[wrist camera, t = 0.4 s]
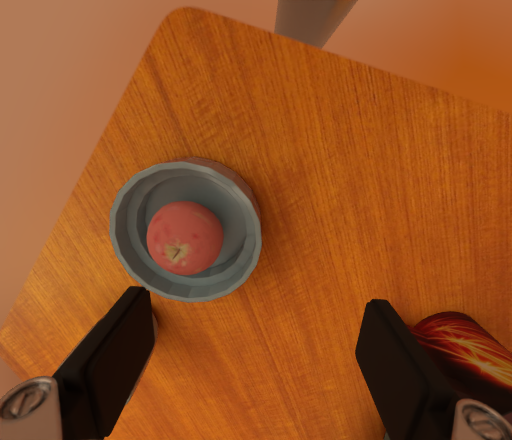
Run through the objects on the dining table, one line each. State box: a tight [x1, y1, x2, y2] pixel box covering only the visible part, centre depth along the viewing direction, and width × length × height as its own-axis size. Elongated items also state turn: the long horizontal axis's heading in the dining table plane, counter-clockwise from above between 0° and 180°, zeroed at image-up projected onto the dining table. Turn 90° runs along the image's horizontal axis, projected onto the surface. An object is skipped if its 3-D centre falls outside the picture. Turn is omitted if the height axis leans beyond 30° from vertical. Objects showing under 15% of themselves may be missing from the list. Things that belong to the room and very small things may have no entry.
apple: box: [147, 201, 224, 275], centre depth 26 cm, size 7×7×8 cm
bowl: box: [109, 157, 262, 303], centre depth 28 cm, size 15×15×5 cm
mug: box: [406, 312, 512, 425], centre depth 30 cm, size 10×14×12 cm
